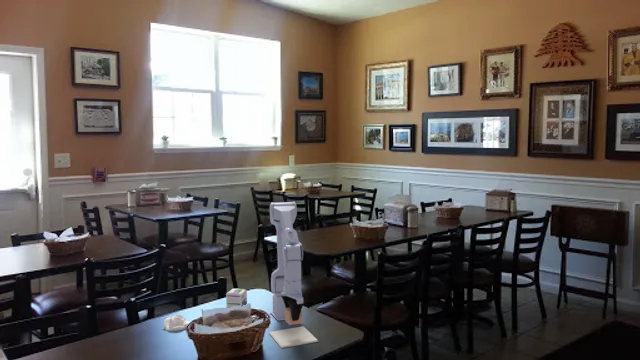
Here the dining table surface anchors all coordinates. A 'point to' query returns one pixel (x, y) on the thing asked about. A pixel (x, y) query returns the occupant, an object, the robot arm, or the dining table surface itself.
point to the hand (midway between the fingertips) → (292, 317)
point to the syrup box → (236, 297)
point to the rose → (175, 323)
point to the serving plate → (293, 337)
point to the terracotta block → (289, 318)
